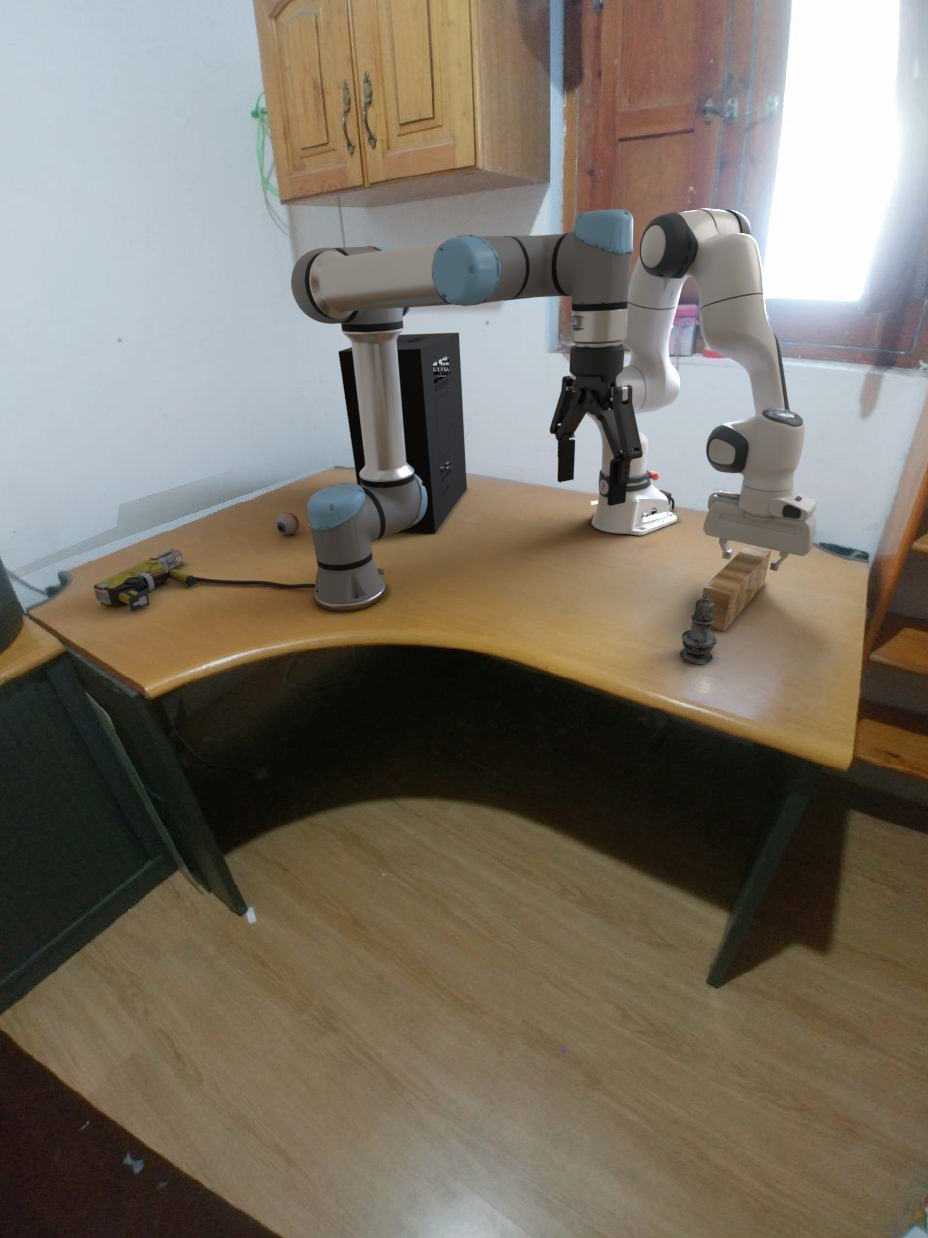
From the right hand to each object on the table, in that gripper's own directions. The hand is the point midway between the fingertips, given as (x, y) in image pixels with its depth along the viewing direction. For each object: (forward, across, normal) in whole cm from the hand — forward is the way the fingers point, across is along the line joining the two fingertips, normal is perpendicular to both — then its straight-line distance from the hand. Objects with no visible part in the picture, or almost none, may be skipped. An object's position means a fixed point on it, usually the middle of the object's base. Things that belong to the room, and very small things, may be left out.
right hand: (749, 563), depth 123 cm
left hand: (-24, -16, -39) cm, 49 cm away
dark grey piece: (+5, +2, -31) cm, 31 cm away
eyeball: (+7, -109, -36) cm, 115 cm away
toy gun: (+6, -107, -73) cm, 130 cm away
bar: (+5, 0, -8) cm, 10 cm away
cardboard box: (+7, -93, -1) cm, 93 cm away
